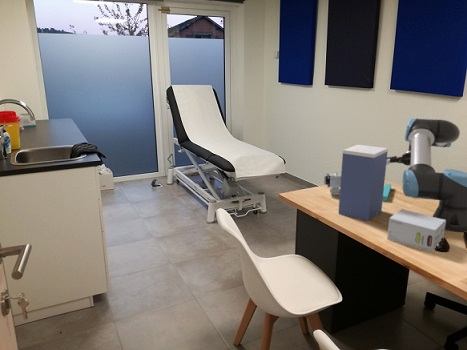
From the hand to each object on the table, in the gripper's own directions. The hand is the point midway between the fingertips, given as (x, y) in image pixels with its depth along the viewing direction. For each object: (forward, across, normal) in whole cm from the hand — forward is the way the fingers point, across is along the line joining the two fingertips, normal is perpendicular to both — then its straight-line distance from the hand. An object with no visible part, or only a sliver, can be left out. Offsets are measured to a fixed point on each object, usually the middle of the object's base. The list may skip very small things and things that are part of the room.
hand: (397, 165), depth 212 cm
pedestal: (+48, 0, -13) cm, 50 cm away
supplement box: (+64, -28, -14) cm, 71 cm away
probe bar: (+14, 0, -14) cm, 20 cm away
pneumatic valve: (+32, +20, -13) cm, 40 cm away
